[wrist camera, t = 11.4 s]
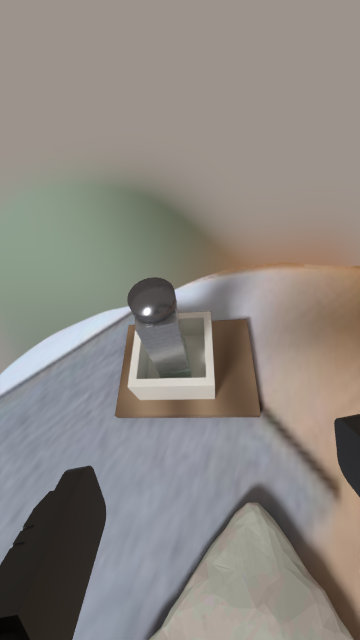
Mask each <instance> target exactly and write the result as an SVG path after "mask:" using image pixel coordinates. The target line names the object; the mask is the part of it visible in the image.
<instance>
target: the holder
mask: <svg viewBox="0 0 360 640" xmlns="http://www.w3.org/2000/svg"><path fill="white" fill-rule="evenodd" d="M178 315H179V319H180V323H181V328H182V332H183V336H184V337H185V341H186V346H187V352H188V358H189V364H190V370H191V376H192V378H162V379H160V377H159V373H158V371H157V369H156V367H155V365H154V364H153V362H152V360H151V358H150V356H149V354H148V352H147V351H146V349H145V347H144V345H143V343H142V341H141V339H140V338H139V336H138V334H137V332H136V330H135V335H134V343H133V350H132V358H131V365H130V372H129V380H128V388H129V389H130V390H131V391H132V392H133V393H134V394H135V395H136V397H137V398H138V399H139V400H183V399H215V380H214V362H213V344H212V327H211V311H205V312H186V313H178Z"/></svg>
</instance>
